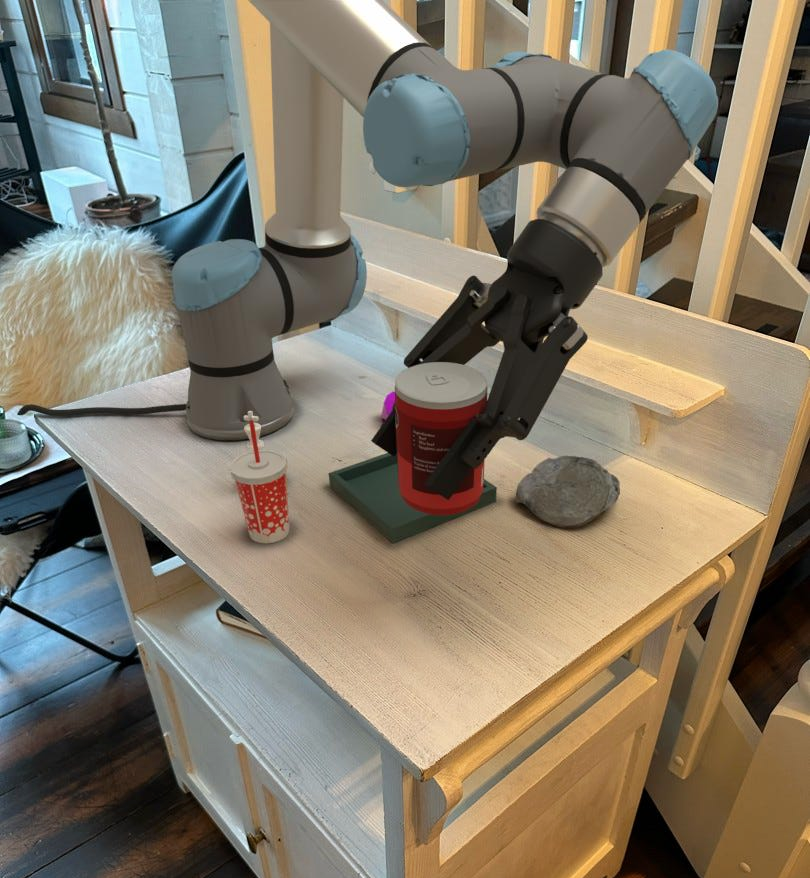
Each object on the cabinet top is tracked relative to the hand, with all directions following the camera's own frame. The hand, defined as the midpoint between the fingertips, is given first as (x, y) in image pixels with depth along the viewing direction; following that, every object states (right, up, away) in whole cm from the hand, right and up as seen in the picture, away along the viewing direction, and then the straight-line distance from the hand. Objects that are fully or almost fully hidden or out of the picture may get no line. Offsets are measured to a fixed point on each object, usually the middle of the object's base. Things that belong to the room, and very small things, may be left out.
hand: (408, 469), depth 65 cm
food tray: (0, 0, +27) cm, 27 cm away
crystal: (-1, +10, +42) cm, 44 cm away
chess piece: (-18, +1, +30) cm, 35 cm away
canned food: (+3, -2, +4) cm, 5 cm away
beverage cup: (-16, -5, +21) cm, 27 cm away
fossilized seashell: (+19, -2, +24) cm, 31 cm away
